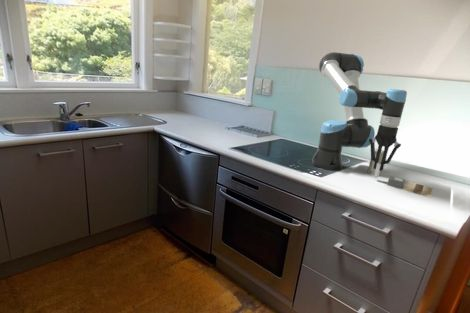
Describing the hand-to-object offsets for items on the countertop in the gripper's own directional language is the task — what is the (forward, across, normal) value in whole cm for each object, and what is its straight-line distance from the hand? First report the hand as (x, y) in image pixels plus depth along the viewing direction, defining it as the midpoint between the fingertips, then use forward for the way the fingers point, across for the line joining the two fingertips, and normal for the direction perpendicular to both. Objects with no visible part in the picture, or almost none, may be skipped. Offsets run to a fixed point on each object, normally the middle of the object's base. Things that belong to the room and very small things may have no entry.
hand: (376, 176), depth 132 cm
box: (+3, -3, +10) cm, 11 cm away
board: (+3, +13, +4) cm, 14 cm away
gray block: (+2, +8, 0) cm, 9 cm away
